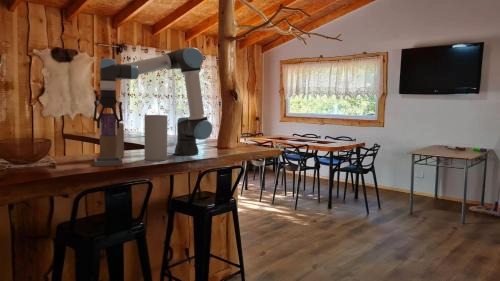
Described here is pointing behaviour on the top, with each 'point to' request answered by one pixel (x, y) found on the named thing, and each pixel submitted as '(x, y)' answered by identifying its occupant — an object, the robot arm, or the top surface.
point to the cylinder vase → (155, 137)
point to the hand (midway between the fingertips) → (108, 134)
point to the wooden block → (113, 144)
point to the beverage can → (108, 125)
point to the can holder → (108, 161)
